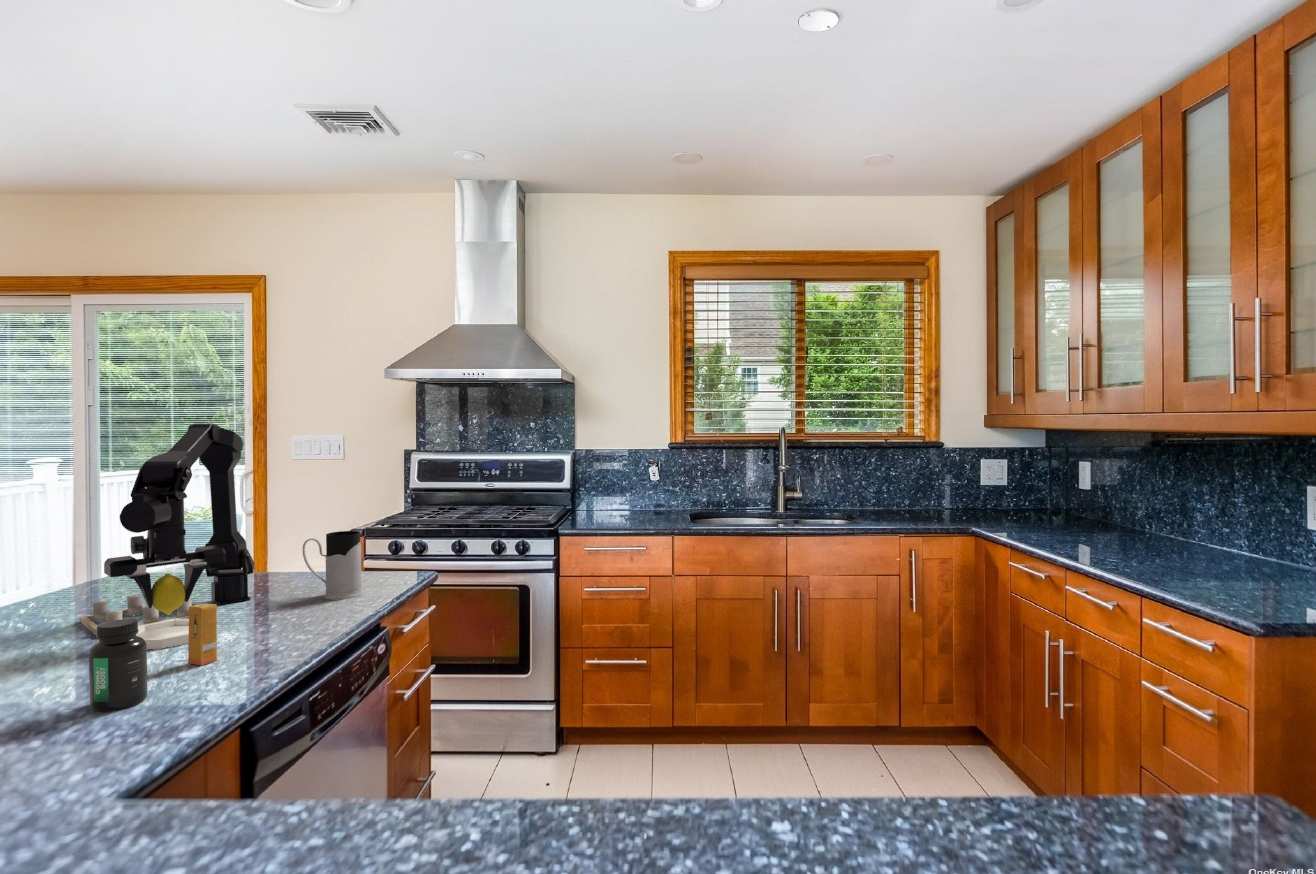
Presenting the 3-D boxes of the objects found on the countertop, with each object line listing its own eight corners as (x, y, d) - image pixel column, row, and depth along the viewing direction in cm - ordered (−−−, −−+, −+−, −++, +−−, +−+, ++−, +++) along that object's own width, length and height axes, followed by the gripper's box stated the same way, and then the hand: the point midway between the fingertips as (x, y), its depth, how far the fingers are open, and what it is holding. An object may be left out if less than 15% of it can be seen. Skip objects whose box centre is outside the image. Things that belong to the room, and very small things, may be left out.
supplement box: (219, 660, 123) (218, 603, 123) (201, 666, 120) (200, 608, 120) (205, 658, 124) (204, 601, 124) (186, 664, 121) (185, 606, 121)
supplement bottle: (101, 716, 100) (99, 632, 99) (81, 706, 103) (79, 625, 103) (156, 700, 106) (154, 620, 105) (135, 691, 109) (133, 614, 109)
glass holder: (353, 599, 165) (353, 536, 165) (294, 599, 165) (293, 536, 165) (369, 590, 174) (368, 530, 174) (312, 590, 174) (312, 530, 174)
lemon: (192, 611, 139) (191, 571, 138) (170, 619, 133) (169, 577, 133) (166, 610, 139) (165, 570, 139) (143, 618, 134) (142, 576, 133)
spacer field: (180, 604, 161) (179, 587, 161) (205, 618, 149) (204, 600, 149) (80, 621, 148) (79, 602, 148) (98, 638, 136) (98, 618, 136)
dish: (198, 623, 146) (198, 614, 146) (221, 636, 137) (221, 627, 137) (115, 639, 135) (115, 630, 135) (133, 654, 126) (133, 645, 126)
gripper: (208, 515, 148) (209, 589, 148) (96, 526, 134) (98, 607, 134) (226, 520, 141) (227, 597, 141) (110, 532, 127) (112, 617, 127)
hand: (168, 604), depth 136 cm, fingers closed on lemon, 5 cm apart
